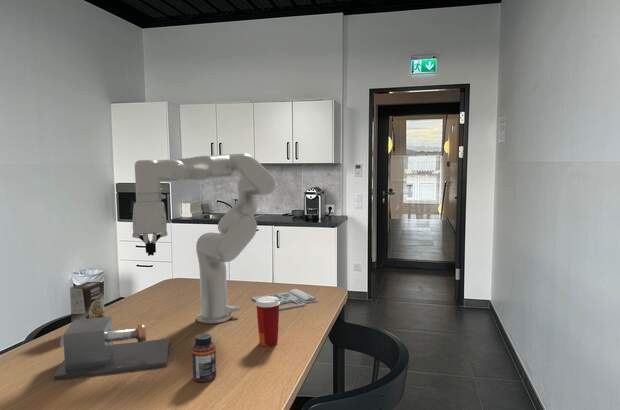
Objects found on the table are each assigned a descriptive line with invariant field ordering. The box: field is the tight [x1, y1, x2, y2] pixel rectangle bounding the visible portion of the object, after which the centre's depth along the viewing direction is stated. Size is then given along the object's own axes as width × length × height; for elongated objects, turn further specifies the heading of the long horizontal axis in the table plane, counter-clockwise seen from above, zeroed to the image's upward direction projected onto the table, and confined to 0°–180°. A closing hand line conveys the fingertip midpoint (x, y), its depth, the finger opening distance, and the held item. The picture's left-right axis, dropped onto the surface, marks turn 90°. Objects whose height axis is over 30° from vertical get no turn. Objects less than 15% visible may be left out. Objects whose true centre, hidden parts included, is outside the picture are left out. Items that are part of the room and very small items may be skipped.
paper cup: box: [254, 296, 281, 347], centre depth 136 cm, size 8×8×14 cm
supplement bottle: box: [191, 332, 217, 383], centre depth 114 cm, size 6×6×11 cm
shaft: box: [59, 323, 148, 348], centre depth 125 cm, size 22×5×5 cm, turn 105°
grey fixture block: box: [53, 316, 170, 381], centre depth 126 cm, size 28×18×11 cm, turn 105°
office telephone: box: [251, 288, 319, 312], centre depth 181 cm, size 23×3×20 cm
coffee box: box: [69, 281, 106, 323], centre depth 149 cm, size 9×6×16 cm
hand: (151, 254), depth 142 cm, fingers closed
